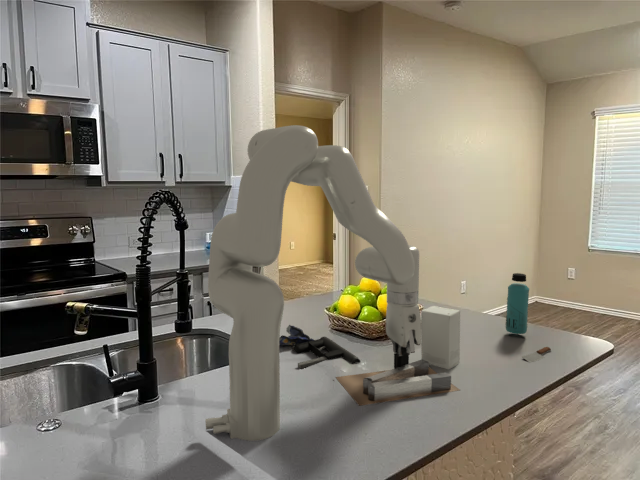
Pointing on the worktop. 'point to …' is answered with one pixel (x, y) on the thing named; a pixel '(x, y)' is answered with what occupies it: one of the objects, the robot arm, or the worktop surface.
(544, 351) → the cleaver
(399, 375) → the tongs arm
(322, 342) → the black submachine gun
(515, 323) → the beverage bottle
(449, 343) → the skincare box
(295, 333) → the snack package
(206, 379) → the worktop surface
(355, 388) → the cutting board
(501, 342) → the worktop surface
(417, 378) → the arm
